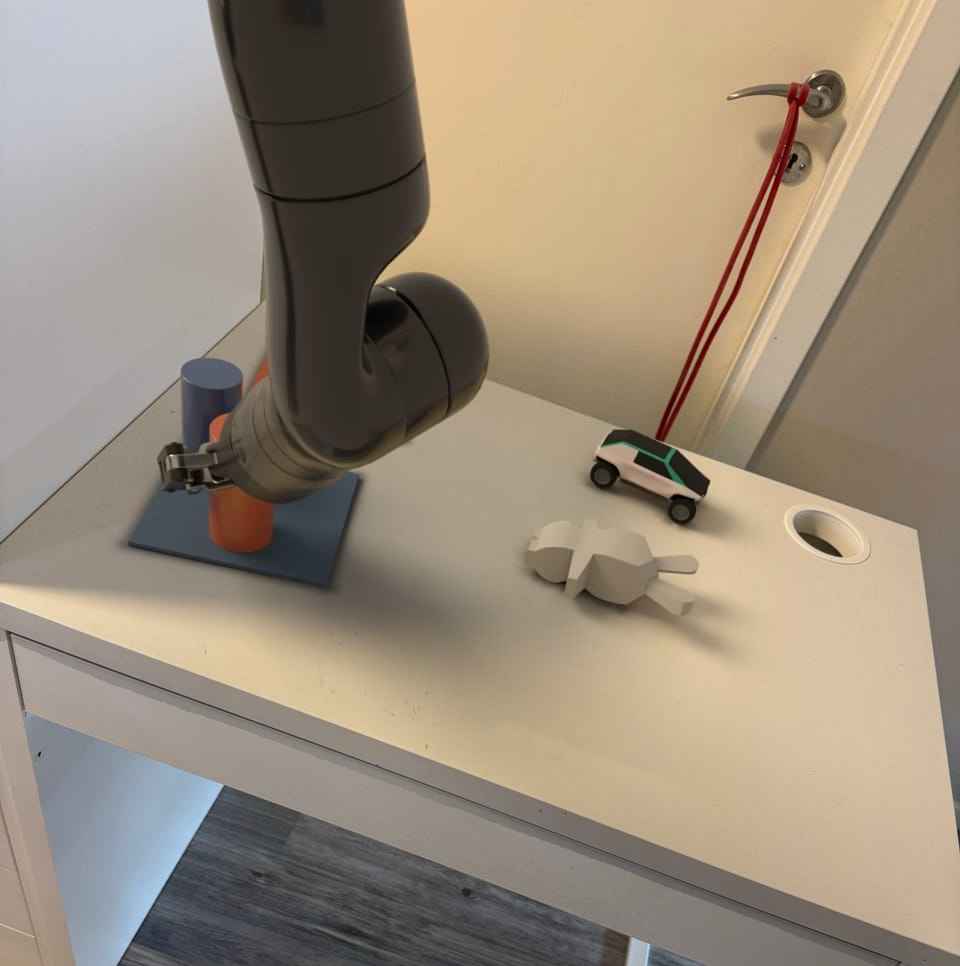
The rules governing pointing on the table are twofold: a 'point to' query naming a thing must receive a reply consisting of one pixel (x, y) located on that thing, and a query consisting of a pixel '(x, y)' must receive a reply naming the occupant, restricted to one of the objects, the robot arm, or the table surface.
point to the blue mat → (291, 553)
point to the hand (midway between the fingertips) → (238, 477)
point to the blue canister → (206, 397)
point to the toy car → (650, 471)
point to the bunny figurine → (608, 564)
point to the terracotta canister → (238, 513)
